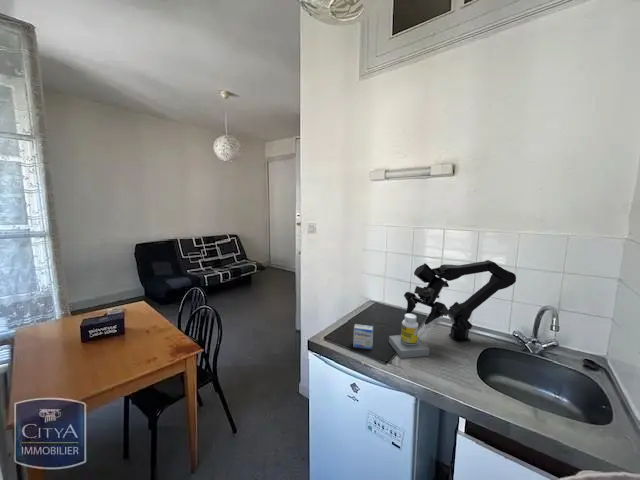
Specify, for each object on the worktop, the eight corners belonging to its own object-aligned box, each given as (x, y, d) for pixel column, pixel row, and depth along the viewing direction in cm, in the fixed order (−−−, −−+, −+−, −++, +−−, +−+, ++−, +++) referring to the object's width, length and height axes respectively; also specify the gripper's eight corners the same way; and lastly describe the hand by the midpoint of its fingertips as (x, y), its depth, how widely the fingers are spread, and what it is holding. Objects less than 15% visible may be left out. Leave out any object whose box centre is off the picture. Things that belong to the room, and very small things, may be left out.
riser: (414, 340, 123) (415, 334, 123) (429, 355, 112) (429, 348, 111) (388, 342, 122) (389, 336, 121) (400, 358, 110) (401, 351, 109)
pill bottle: (397, 339, 118) (399, 313, 116) (410, 336, 120) (411, 311, 118) (407, 347, 112) (409, 320, 110) (420, 344, 114) (422, 317, 112)
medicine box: (353, 347, 118) (353, 328, 116) (354, 342, 122) (354, 323, 120) (372, 349, 116) (372, 330, 114) (372, 344, 120) (373, 325, 119)
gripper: (407, 274, 124) (389, 303, 120) (446, 285, 109) (427, 318, 105) (417, 287, 130) (400, 315, 126) (456, 299, 115) (438, 332, 110)
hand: (415, 320), depth 116 cm, fingers open, 9 cm apart
